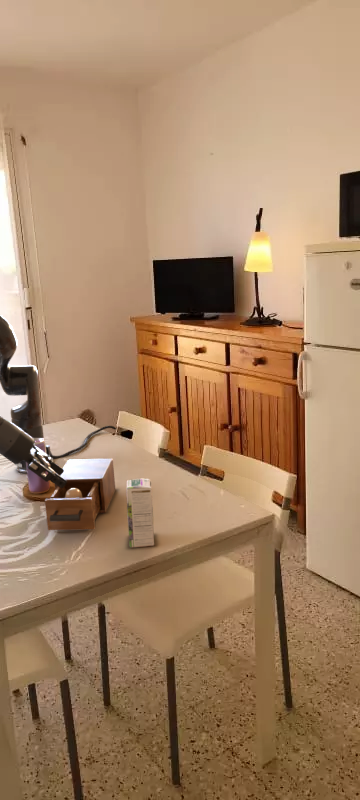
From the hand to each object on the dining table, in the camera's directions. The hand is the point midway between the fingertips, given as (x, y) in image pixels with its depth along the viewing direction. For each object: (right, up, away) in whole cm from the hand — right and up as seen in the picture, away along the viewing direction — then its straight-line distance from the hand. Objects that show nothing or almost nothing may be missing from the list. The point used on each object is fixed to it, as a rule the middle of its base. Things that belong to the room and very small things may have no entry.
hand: (63, 479), depth 152 cm
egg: (+3, -9, +1) cm, 10 cm away
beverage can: (-11, -7, +25) cm, 28 cm away
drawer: (+3, -11, +1) cm, 11 cm away
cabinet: (+4, -8, +15) cm, 17 cm away
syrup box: (+20, -13, -10) cm, 26 cm away
